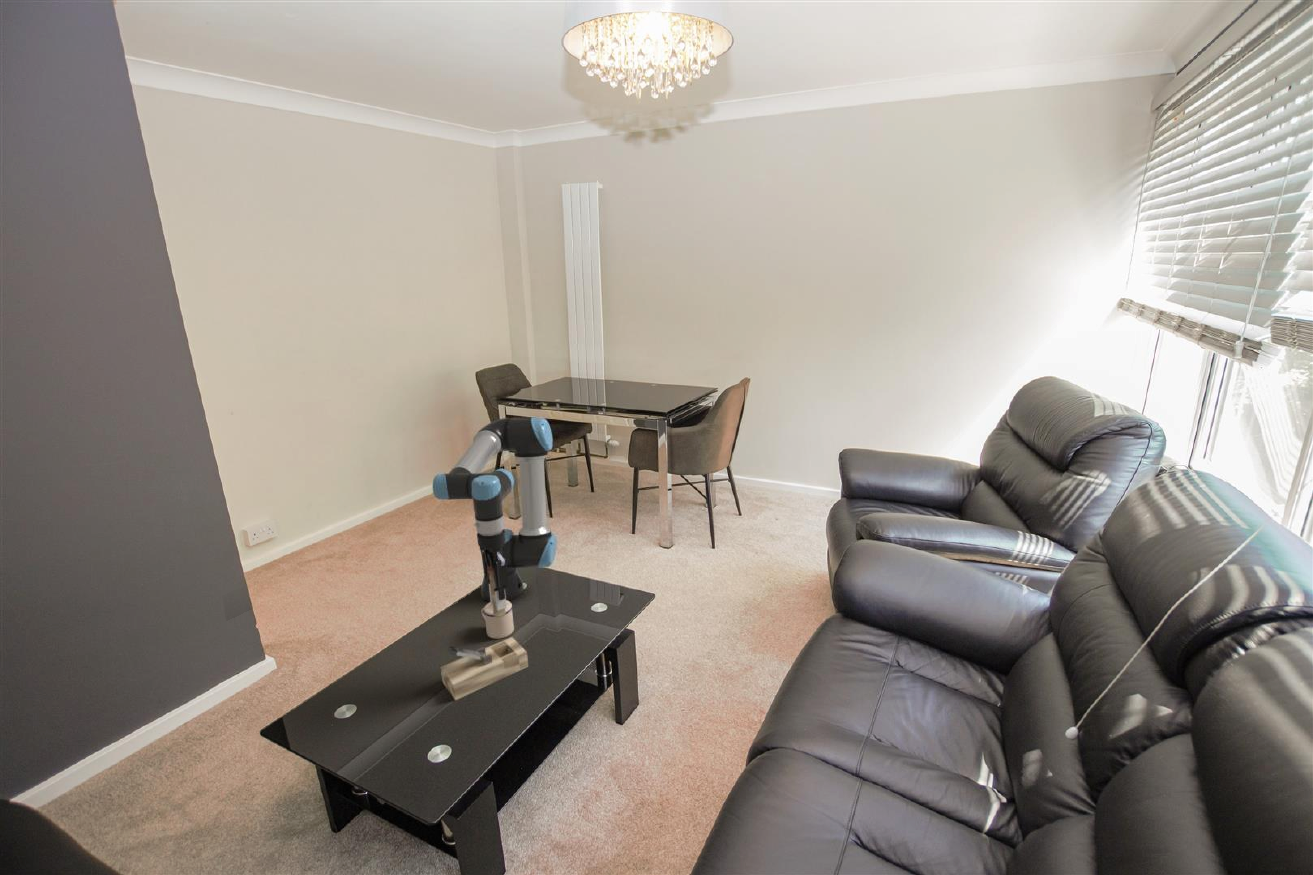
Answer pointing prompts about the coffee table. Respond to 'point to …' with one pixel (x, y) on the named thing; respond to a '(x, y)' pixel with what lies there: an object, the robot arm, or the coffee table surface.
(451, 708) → the coffee table surface
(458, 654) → the lever
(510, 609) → the teacup with lid
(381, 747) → the coffee table surface
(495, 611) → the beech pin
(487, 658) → the block
